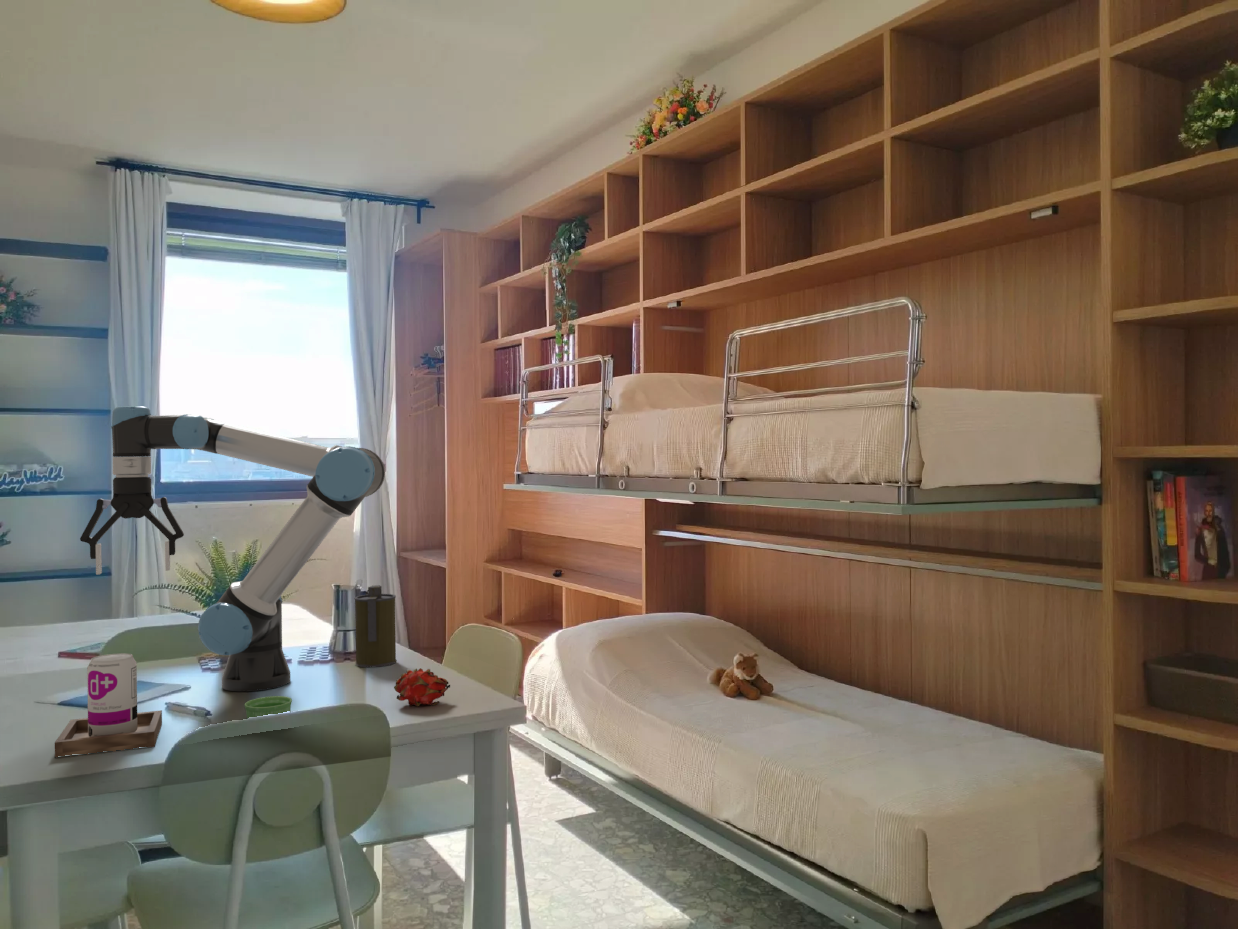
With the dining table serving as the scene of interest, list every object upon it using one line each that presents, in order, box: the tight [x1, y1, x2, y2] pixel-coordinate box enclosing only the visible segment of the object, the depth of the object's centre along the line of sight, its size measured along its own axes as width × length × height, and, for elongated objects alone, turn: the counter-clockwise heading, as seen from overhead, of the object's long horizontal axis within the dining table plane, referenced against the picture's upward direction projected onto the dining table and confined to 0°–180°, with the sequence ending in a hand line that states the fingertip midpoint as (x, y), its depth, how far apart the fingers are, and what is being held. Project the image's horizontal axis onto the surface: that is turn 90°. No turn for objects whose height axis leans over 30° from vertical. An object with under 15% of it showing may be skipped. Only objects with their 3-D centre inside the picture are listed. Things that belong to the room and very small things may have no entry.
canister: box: [354, 584, 397, 669], centre depth 239 cm, size 11×10×20 cm
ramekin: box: [244, 695, 293, 719], centre depth 186 cm, size 9×9×4 cm
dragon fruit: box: [393, 668, 451, 707], centre depth 198 cm, size 8×8×12 cm
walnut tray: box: [54, 710, 163, 758], centre depth 175 cm, size 16×16×3 cm
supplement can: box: [86, 652, 138, 737], centre depth 175 cm, size 8×8×15 cm
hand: (133, 572), depth 204 cm, fingers open, 13 cm apart
